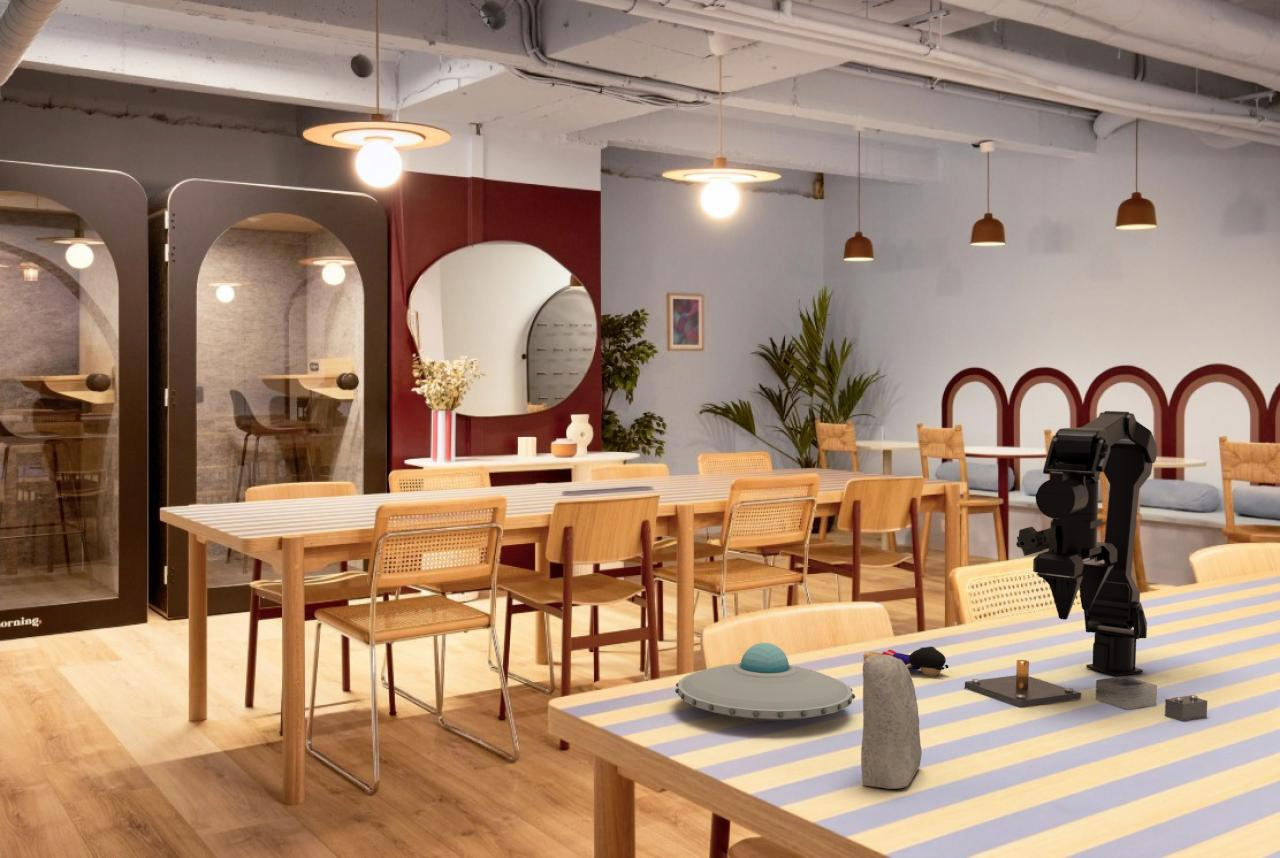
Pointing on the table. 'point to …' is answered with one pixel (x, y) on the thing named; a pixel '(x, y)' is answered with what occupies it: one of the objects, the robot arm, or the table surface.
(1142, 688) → the socket
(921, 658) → the toy
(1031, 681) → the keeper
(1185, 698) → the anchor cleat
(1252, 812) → the table surface
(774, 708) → the toy
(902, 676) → the decorative stone
